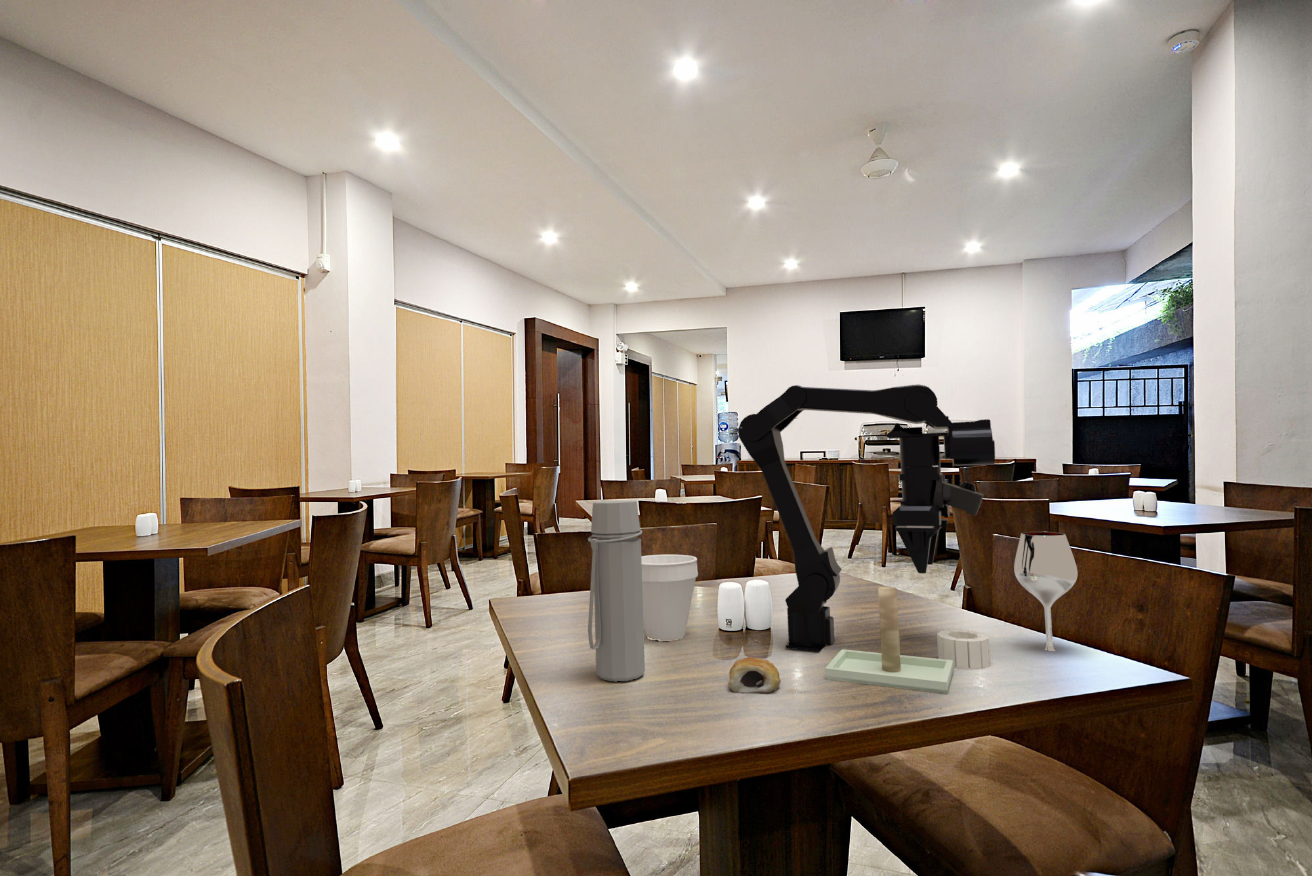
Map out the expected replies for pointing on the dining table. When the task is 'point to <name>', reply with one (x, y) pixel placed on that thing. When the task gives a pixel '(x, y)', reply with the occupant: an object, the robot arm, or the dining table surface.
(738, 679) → the pastry
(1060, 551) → the wineglass
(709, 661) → the dining table surface
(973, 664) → the holder
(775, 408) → the robot arm
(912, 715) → the dining table surface
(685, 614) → the cup
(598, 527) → the water bottle
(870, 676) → the tray
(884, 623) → the dowel
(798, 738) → the dining table surface
